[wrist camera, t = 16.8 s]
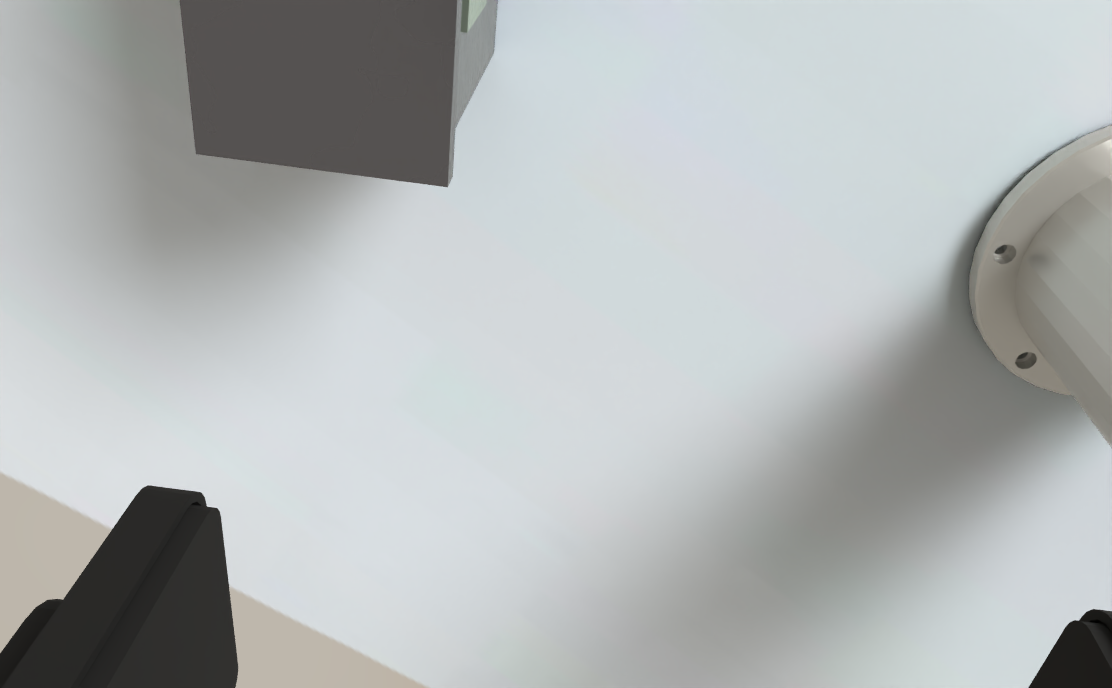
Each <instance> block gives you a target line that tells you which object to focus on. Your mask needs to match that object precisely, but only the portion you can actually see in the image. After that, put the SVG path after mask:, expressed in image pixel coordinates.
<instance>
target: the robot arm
mask: <svg viewBox="0 0 1112 688" xmlns="http://www.w3.org/2000/svg"><path fill="white" fill-rule="evenodd" d="M1000 246H1001V248H999V247H1000ZM997 248H999V249H997ZM996 249H997V250H996ZM969 301H970V305H971V310H972V314H973V318H974V322H975V324H976V326H977V328H978V330H979V332H980V334H981V336H982V338H983V339H984V341H985V343H986V344H987V345H988V347H989V348H990V350H991V351H992V352H993V354H994V355H995V357H996V358H997V359H998V360H999V361H1000V362H1001V363H1002V364H1003V365H1004V366H1005V367H1006V368H1007V369H1008V370H1009V371H1010V372H1012V373H1013V374H1014V375H1016V376H1018V377H1020V378H1021V379H1023V380H1025V381H1027V382H1029V383H1031V384H1032V385H1034V386H1036V387H1039V388H1043V389H1046V390H1049V391H1052V392H1055V393H1058V394H1064V395H1072V396H1073V397H1074V398H1075V400H1076V401H1077V402H1078V404H1079V405H1080V406H1081V408H1082V409H1083V410H1084V412H1085V413H1086V414H1087V416H1088V417H1089V418H1090V420H1091V421H1092V422H1093V424H1094V425H1095V426H1096V428H1097V429H1098V430H1099V432H1100V433H1101V435H1102V436H1103V437H1104V439H1105V440H1106V441H1107V443H1108V444H1109V445H1110V447H1111V448H1112V125H1110V126H1107V127H1105V128H1102V129H1100V130H1097V131H1095V132H1092V133H1089V134H1087V135H1085V136H1083V137H1081V138H1079V139H1078V140H1076V141H1074V142H1072V143H1071V144H1069V145H1067V146H1065V147H1064V148H1062V149H1060V150H1058V151H1057V152H1055V153H1054V154H1052V155H1051V156H1050V157H1048V158H1047V159H1046V160H1045V161H1043V162H1042V163H1041V164H1039V165H1038V166H1037V167H1036V168H1034V169H1033V170H1032V171H1030V172H1029V173H1028V174H1027V175H1026V176H1025V177H1024V178H1023V179H1022V180H1021V181H1020V182H1019V183H1018V184H1017V185H1016V186H1015V187H1014V188H1013V189H1012V191H1011V192H1010V193H1009V194H1008V195H1007V196H1006V197H1005V198H1004V200H1003V201H1002V202H1001V204H1000V205H999V207H998V208H997V210H996V211H995V213H994V214H993V215H992V217H991V218H990V220H989V221H988V223H987V225H986V227H985V229H984V231H983V234H982V236H981V238H980V240H979V242H978V245H977V247H976V249H975V253H974V257H973V262H972V266H971V270H970V274H969ZM237 675H238V662H237V653H236V644H235V635H234V627H233V618H232V610H231V601H230V592H229V583H228V575H227V566H226V557H225V549H224V540H223V532H222V523H221V516H220V511H219V510H218V509H217V508H212V507H207V506H206V501H205V497H204V496H203V494H202V493H201V492H194V491H187V490H179V489H171V488H164V487H156V486H146V487H144V488H142V489H141V490H140V492H139V493H138V494H137V495H136V496H135V498H134V499H133V501H132V502H131V503H130V505H129V506H128V508H127V509H126V511H125V512H124V513H123V515H122V516H121V518H120V519H119V521H118V522H117V523H116V525H115V526H114V528H113V529H112V531H111V532H110V534H109V535H108V537H107V538H106V539H105V541H104V542H103V544H102V545H101V546H100V548H99V549H98V551H97V552H96V554H95V555H94V557H93V558H92V559H91V561H90V562H89V564H88V565H87V566H86V568H85V569H84V571H83V572H82V574H81V575H80V576H79V578H78V579H77V581H76V582H75V584H74V585H73V586H72V588H71V589H70V591H69V592H68V594H67V595H66V597H65V598H64V600H61V599H53V600H47V601H45V602H44V603H42V604H40V605H39V606H37V607H36V608H35V609H34V610H33V611H32V613H31V614H30V615H29V616H28V617H27V618H26V619H25V620H24V622H23V623H22V624H21V626H20V627H19V629H18V630H17V632H16V633H15V634H14V636H13V637H12V638H11V640H10V641H9V643H8V644H7V645H6V647H5V648H4V649H3V651H2V652H1V653H0V688H235V687H236V682H237ZM1029 688H1112V611H1104V610H1095V609H1093V610H1090V611H1088V612H1086V613H1085V614H1084V615H1083V616H1082V618H1081V619H1080V620H1079V621H1076V620H1075V621H1072V622H1070V623H1069V624H1068V625H1067V626H1066V627H1065V629H1064V631H1063V632H1062V634H1061V636H1060V637H1059V639H1058V641H1057V642H1056V644H1055V645H1054V647H1053V649H1052V650H1051V652H1050V654H1049V655H1048V657H1047V658H1046V660H1045V662H1044V663H1043V665H1042V667H1041V668H1040V670H1039V671H1038V673H1037V675H1036V676H1035V678H1034V680H1033V681H1032V683H1031V685H1030V686H1029Z"/></svg>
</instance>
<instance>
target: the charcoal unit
mask: <svg viewBox="0 0 1112 688" xmlns="http://www.w3.org/2000/svg"><path fill="white" fill-rule="evenodd" d="M497 4H498V0H180V6H181V15H182V25H183V34H184V44H185V53H186V63H187V72H188V82H189V92H190V101H191V111H192V120H193V130H194V139H195V149H196V154H201V155H208V156H216V157H224V158H231V159H239V160H246V161H254V162H261V163H269V164H277V165H284V166H292V167H299V168H307V169H314V170H322V171H330V172H337V173H345V174H352V175H360V176H367V177H375V178H383V179H390V180H398V181H405V182H413V183H420V184H428V185H436V186H443V187H448V185H449V183H450V181H451V179H452V177H453V160H454V142H455V128H456V126H457V124H458V122H459V120H460V118H461V116H462V114H463V112H464V110H465V108H466V106H467V105H468V103H469V101H470V99H471V97H472V95H473V93H474V91H475V89H476V87H477V85H478V83H479V81H480V79H481V77H482V75H483V73H484V71H485V69H486V67H487V65H488V63H489V61H490V59H491V57H492V56H493V54H494V44H495V30H496V17H497Z"/></svg>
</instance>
